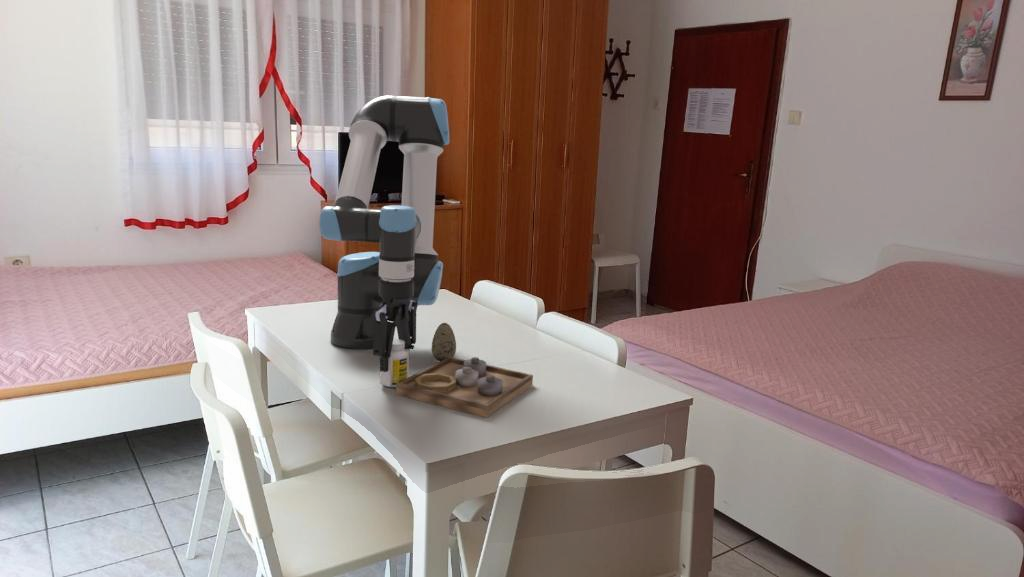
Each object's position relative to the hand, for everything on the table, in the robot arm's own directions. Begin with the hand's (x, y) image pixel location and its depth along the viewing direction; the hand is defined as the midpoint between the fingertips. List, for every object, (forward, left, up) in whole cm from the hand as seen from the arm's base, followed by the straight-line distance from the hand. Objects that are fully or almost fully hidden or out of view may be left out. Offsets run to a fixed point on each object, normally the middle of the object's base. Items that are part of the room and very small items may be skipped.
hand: (394, 380), depth 156 cm
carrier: (+15, +6, -1) cm, 16 cm away
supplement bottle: (0, 0, -1) cm, 1 cm away
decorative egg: (+1, +19, -1) cm, 19 cm away
